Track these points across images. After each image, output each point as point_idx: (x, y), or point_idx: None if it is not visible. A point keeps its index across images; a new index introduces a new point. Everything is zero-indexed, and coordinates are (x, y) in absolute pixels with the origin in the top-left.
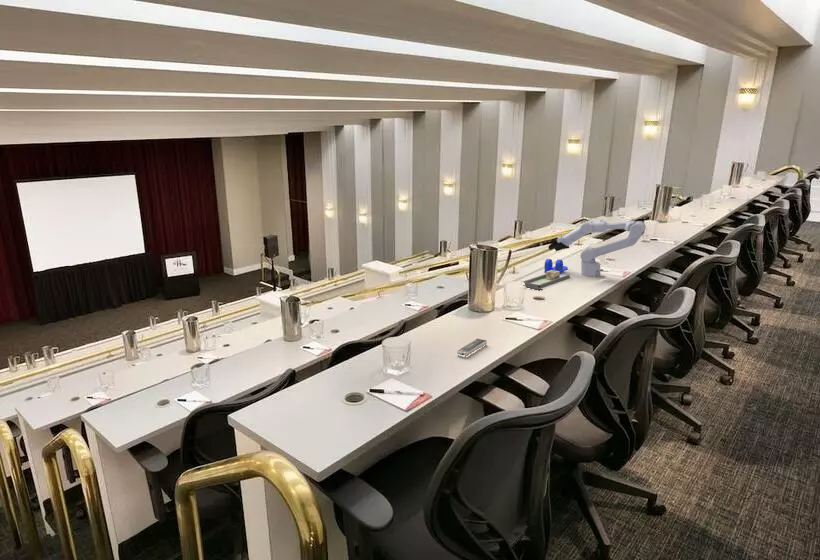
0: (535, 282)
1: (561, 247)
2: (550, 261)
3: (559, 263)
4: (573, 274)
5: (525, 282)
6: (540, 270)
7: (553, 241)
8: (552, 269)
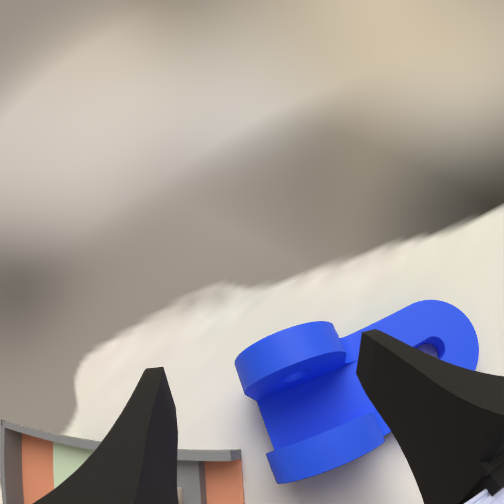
0: (54, 462)
1: (408, 434)
2: (299, 367)
3: (290, 480)
4: (399, 497)
5: (2, 440)
6: (338, 267)
7: (84, 469)
8: (343, 365)
